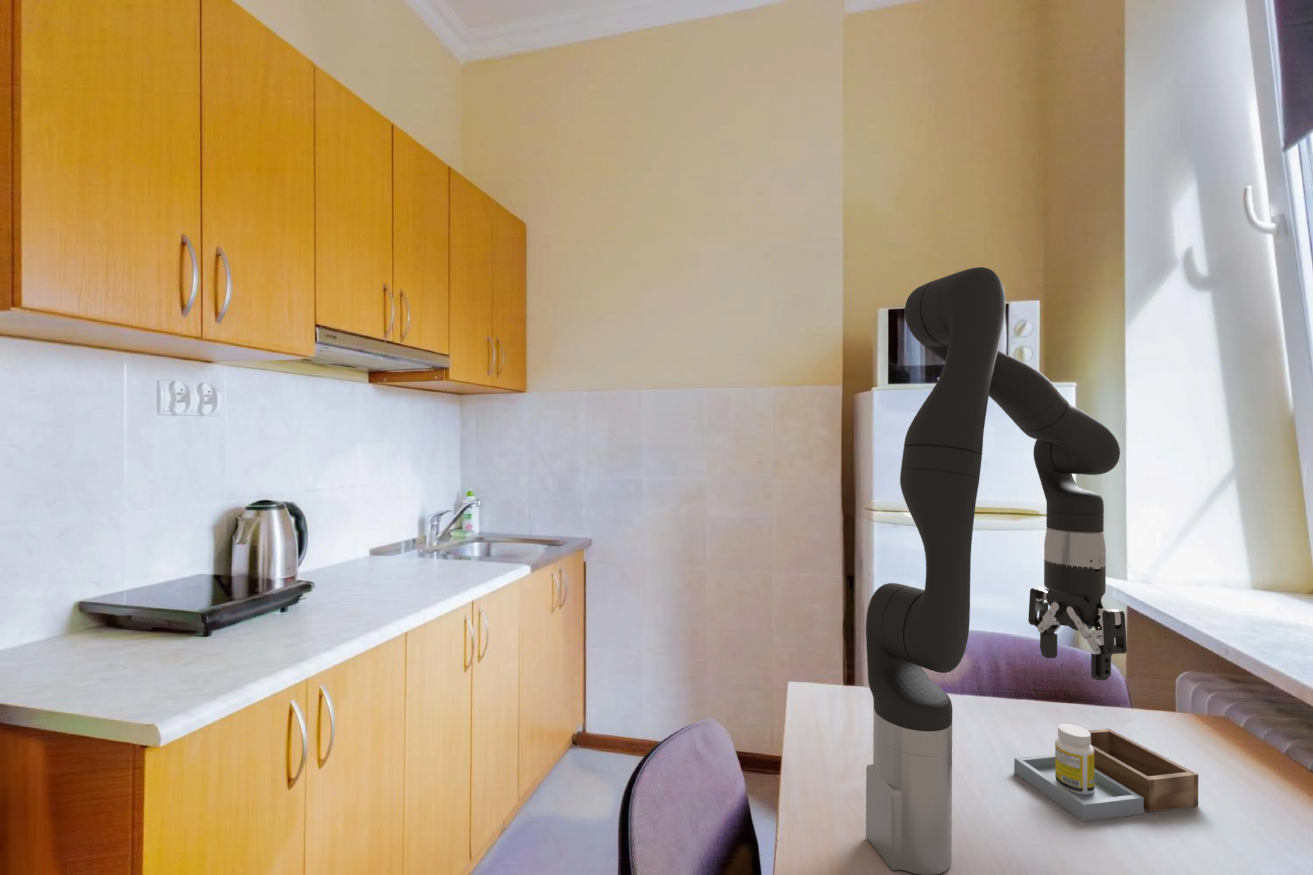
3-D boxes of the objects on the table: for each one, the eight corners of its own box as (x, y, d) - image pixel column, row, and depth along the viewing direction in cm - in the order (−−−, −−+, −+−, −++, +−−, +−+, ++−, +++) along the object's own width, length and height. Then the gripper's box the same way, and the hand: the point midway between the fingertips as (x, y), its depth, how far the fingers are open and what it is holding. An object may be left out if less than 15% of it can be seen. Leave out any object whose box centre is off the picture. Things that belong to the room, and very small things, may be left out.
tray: (1083, 821, 79) (1083, 804, 79) (1014, 772, 91) (1014, 757, 91) (1143, 813, 81) (1143, 797, 81) (1068, 766, 93) (1068, 752, 93)
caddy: (1149, 811, 82) (1149, 780, 82) (1064, 759, 95) (1064, 732, 95) (1198, 805, 83) (1198, 774, 83) (1108, 755, 97) (1108, 728, 97)
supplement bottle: (1081, 778, 88) (1081, 723, 88) (1102, 796, 84) (1102, 738, 84) (1048, 776, 89) (1048, 721, 89) (1066, 794, 84) (1067, 736, 84)
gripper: (1015, 551, 93) (1014, 652, 93) (1097, 570, 79) (1096, 689, 79) (1055, 550, 95) (1054, 649, 94) (1142, 569, 81) (1142, 685, 80)
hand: (1073, 667), depth 87 cm, fingers open, 8 cm apart
